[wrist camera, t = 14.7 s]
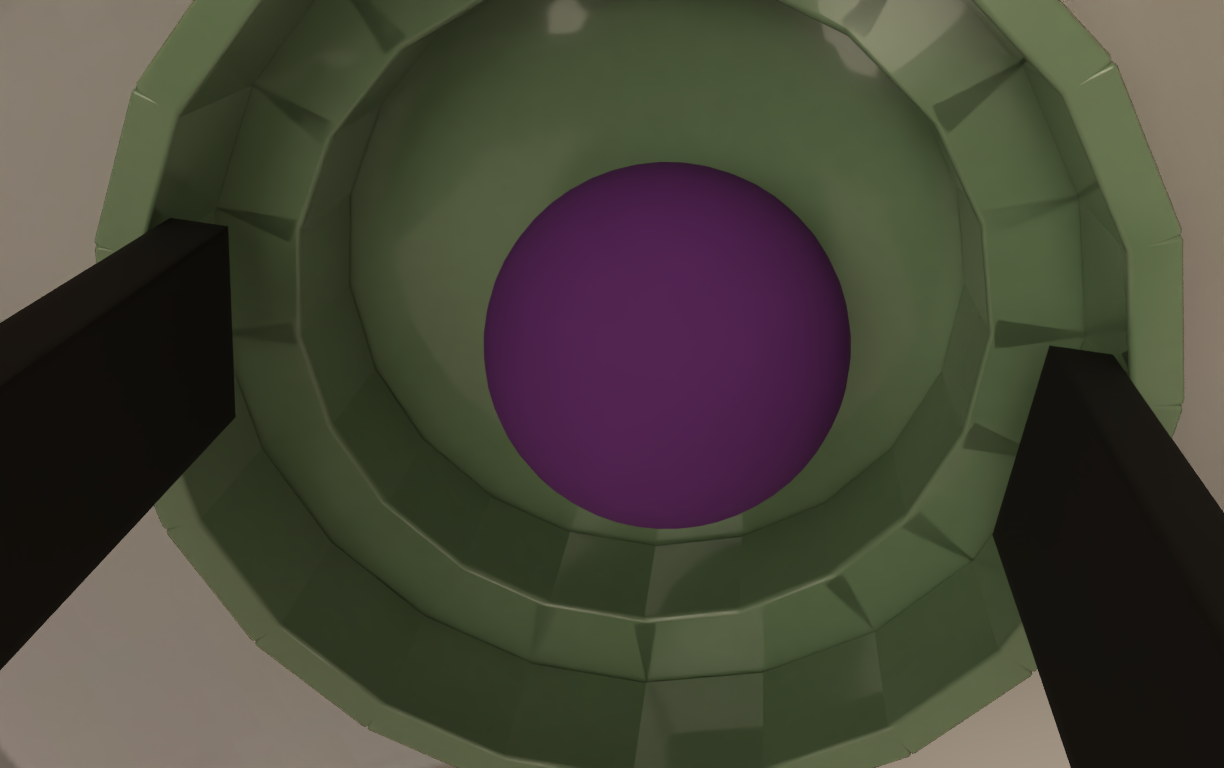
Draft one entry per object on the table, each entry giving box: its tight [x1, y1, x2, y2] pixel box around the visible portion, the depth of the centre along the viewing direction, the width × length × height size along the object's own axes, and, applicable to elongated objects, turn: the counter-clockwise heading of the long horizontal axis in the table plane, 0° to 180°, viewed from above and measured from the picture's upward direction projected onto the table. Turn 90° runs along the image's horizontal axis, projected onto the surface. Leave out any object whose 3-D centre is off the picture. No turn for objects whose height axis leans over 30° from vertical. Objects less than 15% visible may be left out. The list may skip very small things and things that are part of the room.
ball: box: [484, 162, 851, 529], centre depth 16 cm, size 5×5×5 cm
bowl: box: [95, 0, 1184, 768], centre depth 16 cm, size 13×13×5 cm
